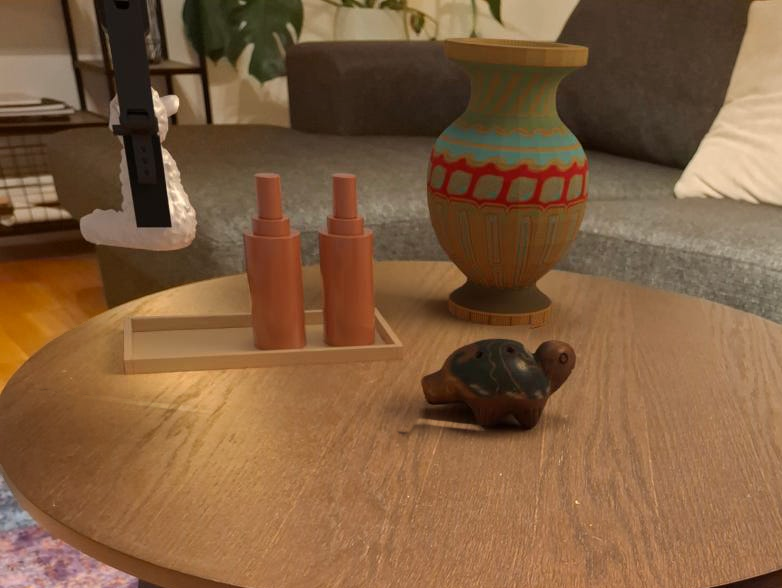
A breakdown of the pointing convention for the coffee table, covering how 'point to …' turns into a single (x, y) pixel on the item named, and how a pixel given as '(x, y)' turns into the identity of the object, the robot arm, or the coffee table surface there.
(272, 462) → the coffee table surface
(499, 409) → the decorative turtle
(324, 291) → the far bottle
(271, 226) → the near bottle
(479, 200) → the vase
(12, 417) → the coffee table surface
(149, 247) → the sitting furry creature
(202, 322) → the tray
